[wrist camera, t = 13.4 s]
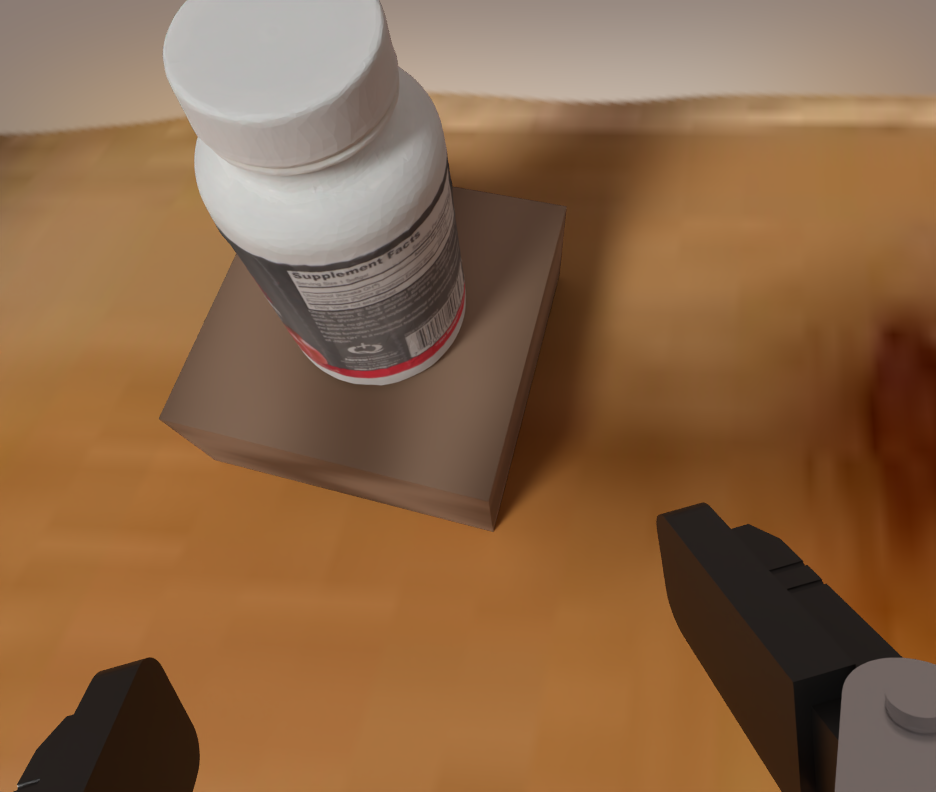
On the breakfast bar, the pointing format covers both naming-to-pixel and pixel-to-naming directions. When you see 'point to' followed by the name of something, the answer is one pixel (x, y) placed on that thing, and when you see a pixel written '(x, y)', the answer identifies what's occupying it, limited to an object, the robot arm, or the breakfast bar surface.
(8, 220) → the breakfast bar surface
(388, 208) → the pill bottle
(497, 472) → the walnut base
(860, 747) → the robot arm
